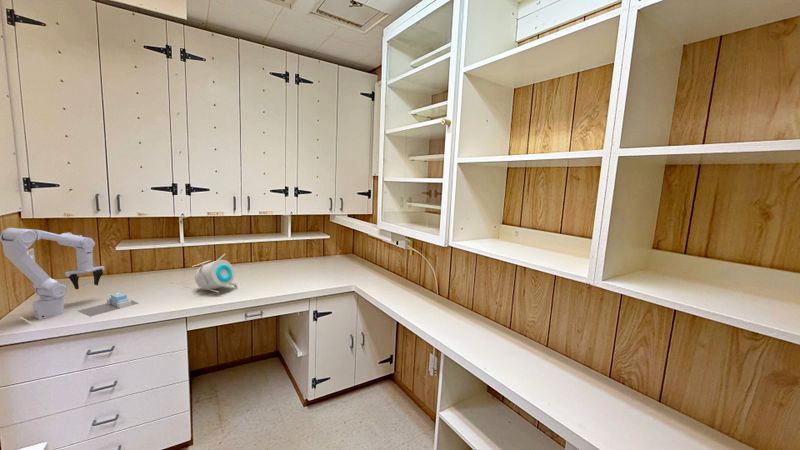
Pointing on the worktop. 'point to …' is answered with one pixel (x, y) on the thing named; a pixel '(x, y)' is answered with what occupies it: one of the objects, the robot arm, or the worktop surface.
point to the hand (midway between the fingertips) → (86, 286)
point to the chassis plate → (106, 307)
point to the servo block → (118, 298)
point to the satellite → (215, 275)
